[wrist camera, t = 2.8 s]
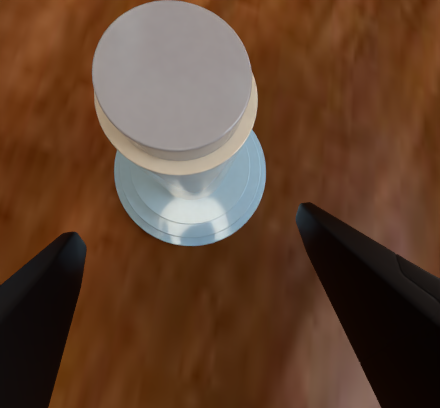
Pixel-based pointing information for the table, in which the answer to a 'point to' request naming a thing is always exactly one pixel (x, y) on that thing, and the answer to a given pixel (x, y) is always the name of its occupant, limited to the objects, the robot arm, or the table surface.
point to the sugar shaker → (175, 94)
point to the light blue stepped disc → (194, 209)
